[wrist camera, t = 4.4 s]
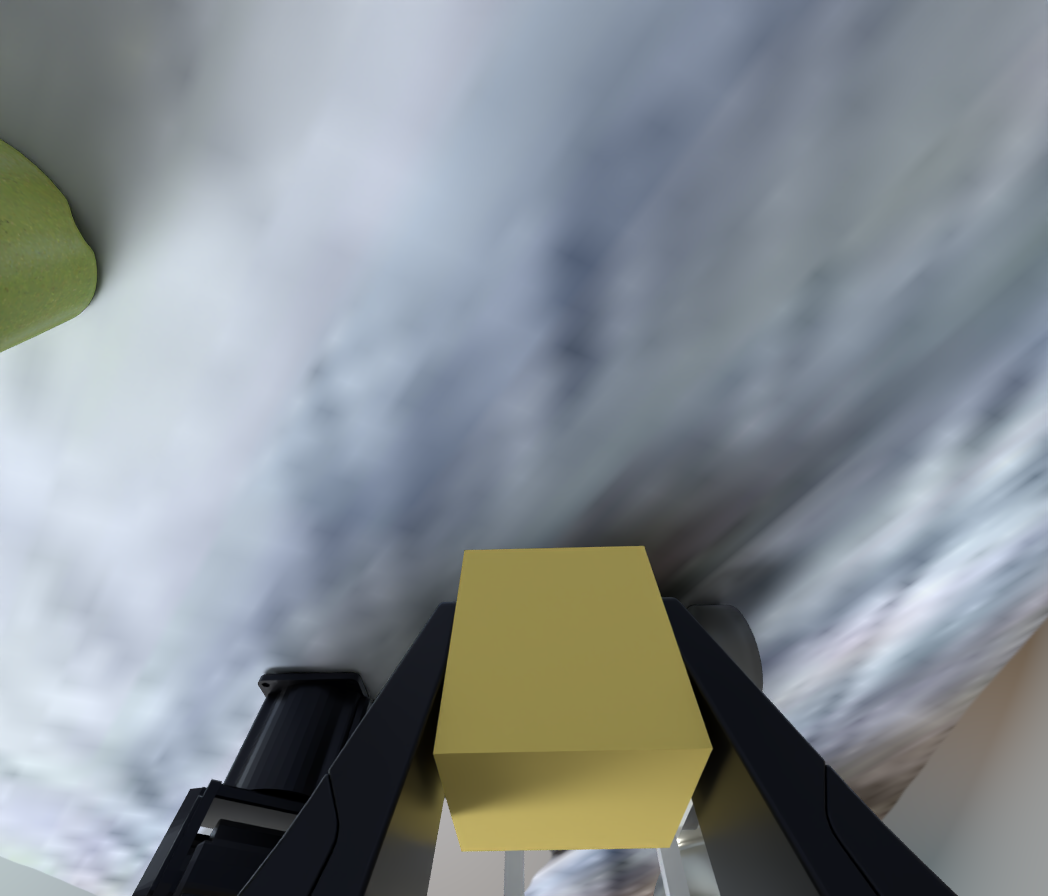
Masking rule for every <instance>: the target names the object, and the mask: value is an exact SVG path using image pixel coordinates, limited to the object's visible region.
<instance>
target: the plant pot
mask: <svg viewBox="0 0 1048 896" xmlns="http://www.w3.org/2000/svg"><path fill="white" fill-rule="evenodd" d="M96 283H97V266H96V259H95V255H94V252H93V250H92V249H91V248H90V246H89V245H88V244H87V243H86V242H85V240H84V239H83V237H82V235H81V234H80V232H79V230H78V228H77V227H76V225H75V222H74V219H73V217H72V214H71V210H70V207H69V204H68V201H67V200H66V198H65V197H64V195H63V194H62V193H61V192H60V191H59V189H58V188H57V187H56V186H55V185H54V184H53V182H52V181H51V180H50V179H49V178H48V177H47V176H46V175H45V174H44V173H43V172H42V171H41V170H40V169H39V168H38V167H37V166H36V165H34V164H33V163H32V162H31V161H30V160H28V159H27V158H26V157H25V156H24V155H22V154H21V153H20V152H19V151H17V150H16V149H14V148H13V147H11V146H10V145H8V144H7V143H5V142H4V141H2V140H1V139H0V352H2V351H5V350H7V349H9V348H11V347H13V346H16V345H18V344H20V343H22V342H24V341H26V340H29V339H31V338H33V337H35V336H37V335H39V334H41V333H43V332H45V331H48V330H50V329H52V328H54V327H56V326H58V325H60V324H62V323H64V322H66V321H68V320H70V319H72V318H74V317H76V316H77V315H79V314H80V313H81V312H82V311H83V310H84V309H85V308H86V307H87V306H88V305H89V303H90V301H91V300H92V298H93V296H94V293H95V289H96Z"/></svg>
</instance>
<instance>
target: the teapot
mask: <svg viewBox="0 0 1048 896" xmlns="http://www.w3.org/2000/svg"><path fill="white" fill-rule="evenodd" d="M677 842H678V847H679V851H680V855H681V859H682V863H683V868H684V872H685V876H686V880H687V884H688V889H689V893H690V896H720V893H719V889H718V886H717V883H716V879H715V876H714V873H713V869H712V866H711V863H710V859H709V856H708V853H707V849H706V846H705V843H704V839H703V836H702V833H701V829H700V826H699V824H698V828H697V829H696V830H681V832H680V834H679V836H678V838H677ZM653 896H666V894H665V889H664V884H663V879H662V874H661V873H660V875H659V878H658V880H657V883H656V886H655V890H654V895H653Z"/></svg>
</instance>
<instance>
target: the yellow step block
mask: <svg viewBox="0 0 1048 896" xmlns="http://www.w3.org/2000/svg"><path fill="white" fill-rule="evenodd" d="M712 749H713V748H712V745H711V742H710V739H709V736H708V733H707V730H706V727H705V724H704V721H703V718H702V715H701V712H700V709H699V707H698V704H697V701H696V698H695V695H694V692H693V689H692V686H691V683H690V680H689V677H688V674H687V671H686V668H685V665H684V662H683V659H682V657H681V654H680V651H679V648H678V645H677V642H676V639H675V636H674V633H673V630H672V627H671V624H670V621H669V618H668V615H667V612H666V610H665V607H664V604H663V601H662V598H661V595H660V592H659V589H658V586H657V583H656V580H655V577H654V574H653V571H652V568H651V565H650V562H649V560H648V557H647V554H646V551H645V548H644V546H622V547H579V548H535V549H492V550H464V557H463V563H462V570H461V576H460V583H459V589H458V596H457V602H456V609H455V615H454V622H453V628H452V635H451V641H450V648H449V654H448V660H447V667H446V673H445V680H444V686H443V693H442V699H441V706H440V712H439V719H438V725H437V732H436V738H435V745H434V751H433V755H434V758H435V762H436V765H437V769H438V772H439V775H440V779H441V782H442V786H443V789H444V793H445V796H446V799H447V803H448V806H449V810H450V813H451V816H452V820H453V823H454V827H455V830H456V834H457V837H458V840H459V844H460V847H461V851H518V850H576V849H633V848H670V845H671V843H672V841H673V839H674V836H675V834H676V832H677V829H678V827H679V825H680V822H681V820H682V818H683V816H684V813H685V811H686V809H687V806H688V804H689V802H690V799H691V797H692V795H693V793H694V790H695V788H696V786H697V783H698V781H699V779H700V776H701V774H702V772H703V770H704V767H705V765H706V763H707V760H708V758H709V756H710V753H711V751H712Z"/></svg>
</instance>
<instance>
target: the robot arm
mask: <svg viewBox="0 0 1048 896" xmlns="http://www.w3.org/2000/svg"><path fill="white" fill-rule="evenodd" d="M661 598H662V601H663V604H664V607H665V610H666V612H667V615H668V618H669V621H670V624H671V627H672V630H673V633H674V636H675V639H676V642H677V645H678V648H679V651H680V654H681V657H682V659H683V662H684V665H685V668H686V671H687V674H688V677H689V680H690V683H691V686H692V689H693V692H694V695H695V698H696V701H697V704H698V707H699V709H700V712H701V715H702V718H703V721H704V724H705V727H706V730H707V733H708V736H709V739H710V742H711V745H712V748H713V749H712V751H711V753H710V756H709V758H708V760H707V763H706V765H705V767H704V770H703V772H702V774H701V776H700V779H699V781H698V783H697V786H696V788H695V790H694V793H693V795H692V797H691V799H692V802H693V806H694V809H695V812H696V816H697V819H698V823H699V826H700V829H701V833H702V836H703V839H704V843H705V846H706V849H707V853H708V856H709V859H710V863H711V866H712V869H713V873H714V876H715V879H716V883H717V886H718V889H719V893H720V896H958V895H956V894H955V893H954V892H953V891H952V890H951V889H950V888H949V887H948V886H947V885H946V884H945V883H944V882H943V881H942V880H941V879H940V878H939V877H938V876H937V875H936V874H935V873H934V872H932V871H931V870H930V869H929V868H928V867H927V866H926V865H925V864H924V863H923V862H922V861H921V860H920V859H919V858H918V857H917V856H916V855H915V854H914V853H913V852H912V851H911V850H910V849H909V848H908V847H907V846H906V845H905V844H904V843H903V842H902V841H901V840H900V839H899V838H898V837H897V836H896V835H895V834H894V833H893V832H892V831H891V830H890V829H889V828H888V827H887V826H885V824H884V823H883V822H882V821H881V820H880V819H879V818H878V817H877V816H876V815H875V814H874V813H873V812H872V811H871V809H870V808H869V807H868V806H867V805H866V804H865V803H864V802H863V801H862V800H861V799H860V798H859V797H858V796H857V795H856V794H855V793H854V792H853V790H852V789H851V788H850V787H849V786H848V785H847V784H846V783H845V782H844V781H843V780H842V779H841V777H840V776H839V775H838V774H837V773H836V772H835V771H834V770H833V769H832V768H831V766H829V765H825V760H824V759H823V758H822V757H821V756H820V755H819V754H818V752H817V751H816V750H815V749H814V748H813V747H812V746H811V745H810V744H809V743H808V742H807V740H806V739H805V738H804V737H803V736H802V735H801V734H800V733H799V732H798V731H797V730H796V728H795V727H794V726H793V725H792V724H791V723H790V722H789V721H788V720H787V719H786V718H785V716H784V715H783V714H782V713H781V712H780V711H779V710H778V709H777V708H776V707H775V705H774V704H773V703H772V702H771V701H770V700H769V699H768V698H767V697H766V696H765V695H764V693H763V692H762V691H761V690H760V689H759V688H758V687H757V686H756V685H755V684H754V683H753V681H752V680H751V679H750V678H749V677H748V676H747V675H746V674H745V673H744V672H743V670H742V669H741V668H740V667H739V666H738V665H737V664H736V663H735V662H734V661H733V660H732V658H731V657H730V656H729V655H728V654H727V653H726V652H725V651H724V650H723V649H722V648H721V646H720V645H719V644H718V643H717V642H716V641H715V640H714V639H713V638H712V637H711V635H710V634H709V633H708V632H707V631H706V630H705V629H704V628H703V627H702V626H701V625H700V623H699V622H698V621H697V620H696V619H695V618H694V617H693V616H692V615H691V614H690V613H689V611H688V610H687V609H686V608H685V607H684V606H683V605H682V604H681V603H680V602H679V601H678V600H677V599H676V598H674V597H661ZM455 609H456V602H442V603H440V604H439V605H438V607H437V608H436V610H435V611H434V613H433V614H432V616H431V617H430V619H429V620H428V622H427V623H426V625H425V626H424V628H423V629H422V631H421V632H420V634H419V635H418V637H417V638H416V640H415V641H414V643H413V644H412V646H411V647H410V649H409V650H408V652H407V653H406V655H405V656H404V658H403V659H402V661H401V662H400V664H399V665H398V667H397V668H396V670H395V671H394V673H393V674H392V676H391V677H390V679H389V680H388V682H387V683H386V685H385V686H384V688H383V689H382V691H381V692H380V694H379V695H378V697H377V698H376V700H375V701H374V703H373V704H372V702H371V700H370V698H369V697H368V694H367V692H366V689H365V687H364V684H363V682H362V679H361V677H360V675H358V674H356V673H311V674H266V675H262V676H261V678H260V680H259V682H258V686H259V687H260V689H261V690H262V692H263V693H264V695H265V697H266V699H265V701H264V703H263V705H262V707H261V709H260V711H259V713H258V715H257V717H256V719H255V721H254V723H253V725H252V727H251V729H250V731H249V733H248V735H247V737H246V739H245V741H244V743H243V745H242V747H241V749H240V751H239V753H238V755H237V757H236V759H235V761H234V763H233V765H232V767H231V769H230V771H229V773H228V775H227V777H226V779H225V781H224V783H223V784H221V783H222V781H218V780H213V779H212V780H211V782H210V783H209V785H208V787H207V788H206V787H203V788H195V789H190V791H189V793H188V794H187V796H186V798H185V800H184V802H183V804H182V805H181V807H180V809H179V811H178V813H177V815H176V816H175V818H174V820H173V822H172V824H171V826H170V827H169V829H168V831H167V833H166V835H165V836H164V838H163V840H162V842H161V844H160V846H159V847H158V849H157V851H156V853H155V855H154V857H153V858H152V860H151V862H150V864H149V866H148V868H147V869H146V871H145V873H144V875H143V877H142V878H141V880H140V882H139V884H138V886H137V888H136V889H135V891H134V893H133V895H132V896H427V891H428V885H429V880H430V874H431V869H432V863H433V858H434V852H435V846H436V840H437V835H438V829H439V823H440V818H441V812H442V807H443V801H444V796H445V793H444V789H443V786H442V782H441V779H440V775H439V772H438V769H437V765H436V762H435V758H434V755H433V751H434V745H435V738H436V732H437V725H438V719H439V712H440V706H441V699H442V693H443V686H444V680H445V673H446V667H447V660H448V654H449V648H450V641H451V635H452V628H453V622H454V615H455ZM200 826H202V827H207V828H212V829H213V831H212V833H211V835H210V836H209V835H203V834H198V833H197V832H198V830H199V828H200Z"/></svg>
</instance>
